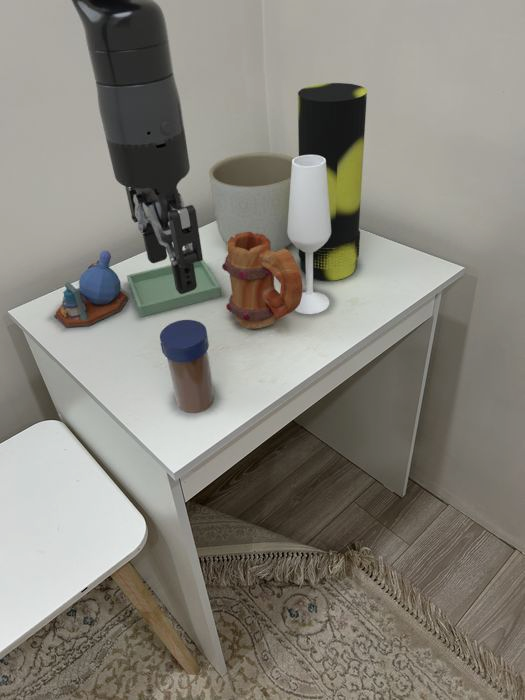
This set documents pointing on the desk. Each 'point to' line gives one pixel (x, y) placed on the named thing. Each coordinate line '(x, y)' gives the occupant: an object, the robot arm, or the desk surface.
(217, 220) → the planter
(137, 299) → the tray
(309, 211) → the champagne flute
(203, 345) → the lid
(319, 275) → the container
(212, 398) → the jar
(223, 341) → the desk surface
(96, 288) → the model
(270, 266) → the mug
